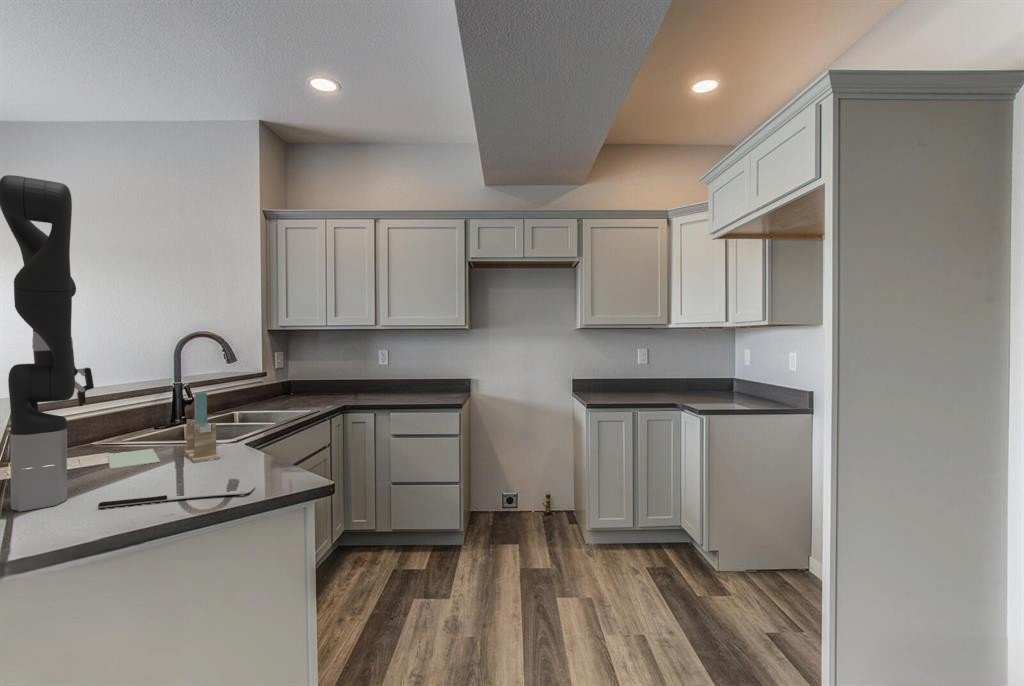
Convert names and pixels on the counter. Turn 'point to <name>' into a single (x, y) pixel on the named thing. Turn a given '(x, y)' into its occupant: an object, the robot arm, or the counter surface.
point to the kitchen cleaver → (161, 499)
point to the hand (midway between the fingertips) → (58, 408)
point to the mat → (132, 458)
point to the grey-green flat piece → (201, 413)
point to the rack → (200, 443)
